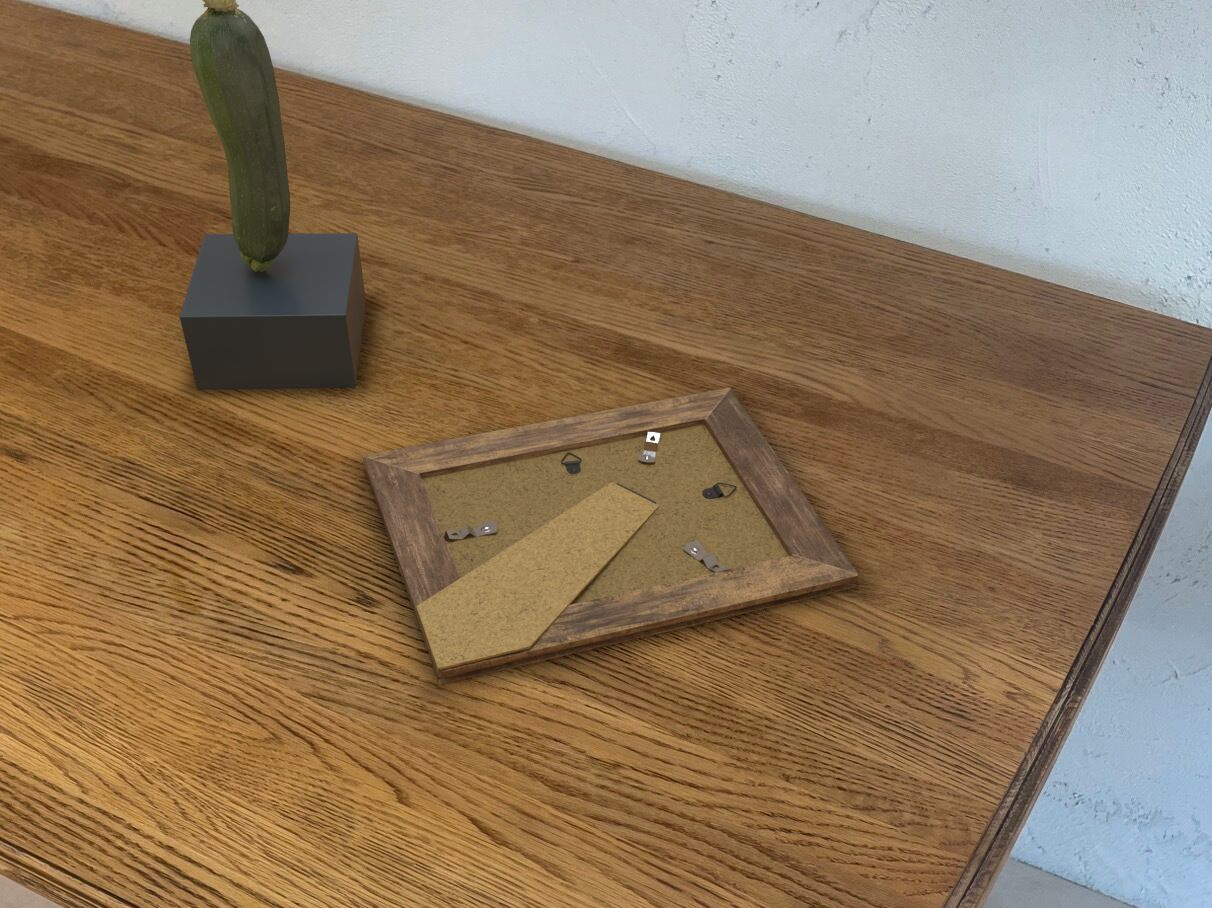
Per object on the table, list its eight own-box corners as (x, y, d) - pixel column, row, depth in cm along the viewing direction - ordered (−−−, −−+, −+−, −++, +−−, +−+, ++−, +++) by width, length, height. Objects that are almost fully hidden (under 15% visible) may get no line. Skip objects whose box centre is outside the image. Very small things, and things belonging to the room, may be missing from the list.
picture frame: (440, 692, 69) (854, 595, 75) (437, 668, 68) (859, 571, 74) (365, 475, 81) (727, 406, 88) (361, 451, 80) (730, 383, 86)
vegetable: (306, 253, 88) (253, -80, 73) (306, 288, 85) (251, -51, 70) (235, 257, 87) (169, -78, 73) (233, 292, 84) (163, -49, 70)
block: (198, 398, 86) (179, 316, 82) (220, 313, 93) (203, 233, 89) (357, 395, 87) (345, 314, 83) (367, 311, 94) (357, 232, 90)
